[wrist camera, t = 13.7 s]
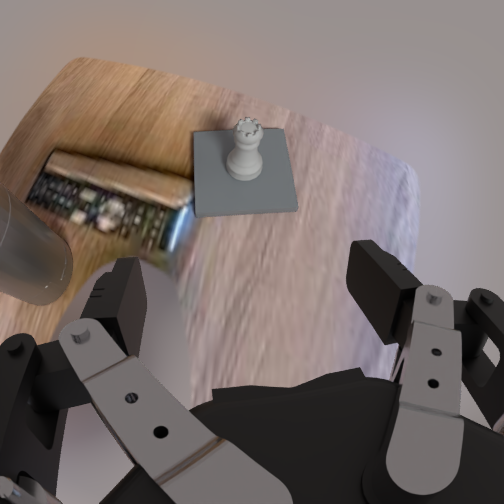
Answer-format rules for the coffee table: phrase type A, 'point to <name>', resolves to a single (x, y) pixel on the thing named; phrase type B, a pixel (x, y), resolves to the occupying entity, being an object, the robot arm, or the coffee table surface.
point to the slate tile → (236, 191)
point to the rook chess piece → (245, 150)
